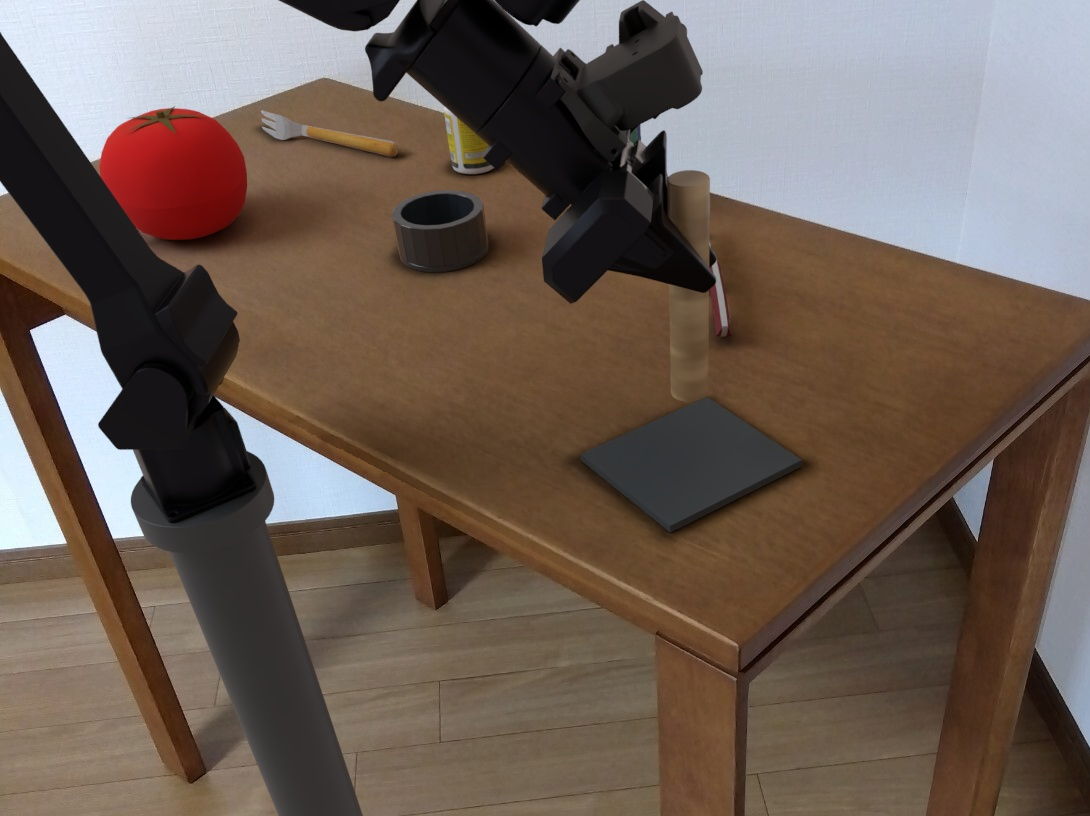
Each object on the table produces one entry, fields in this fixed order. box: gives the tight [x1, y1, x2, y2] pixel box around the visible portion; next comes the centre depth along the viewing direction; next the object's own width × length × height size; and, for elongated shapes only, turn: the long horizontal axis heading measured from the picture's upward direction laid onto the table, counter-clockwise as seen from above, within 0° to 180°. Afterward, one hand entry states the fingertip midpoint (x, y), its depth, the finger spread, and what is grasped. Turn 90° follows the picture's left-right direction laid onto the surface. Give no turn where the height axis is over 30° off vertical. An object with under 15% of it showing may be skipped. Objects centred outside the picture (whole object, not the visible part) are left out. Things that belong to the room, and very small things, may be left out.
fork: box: [260, 109, 399, 158], centre depth 123 cm, size 2×2×20 cm
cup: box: [391, 189, 490, 273], centre depth 101 cm, size 8×8×4 cm
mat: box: [580, 396, 803, 534], centre depth 77 cm, size 11×10×1 cm
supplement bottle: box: [443, 105, 495, 175], centre depth 114 cm, size 5×5×8 cm
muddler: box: [667, 169, 711, 403], centre depth 69 cm, size 2×2×14 cm
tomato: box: [98, 105, 248, 241], centre depth 106 cm, size 12×13×11 cm
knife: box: [709, 239, 732, 338], centre depth 94 cm, size 20×1×3 cm, turn 1°
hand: (711, 275), depth 68 cm, fingers closed on muddler, 2 cm apart
